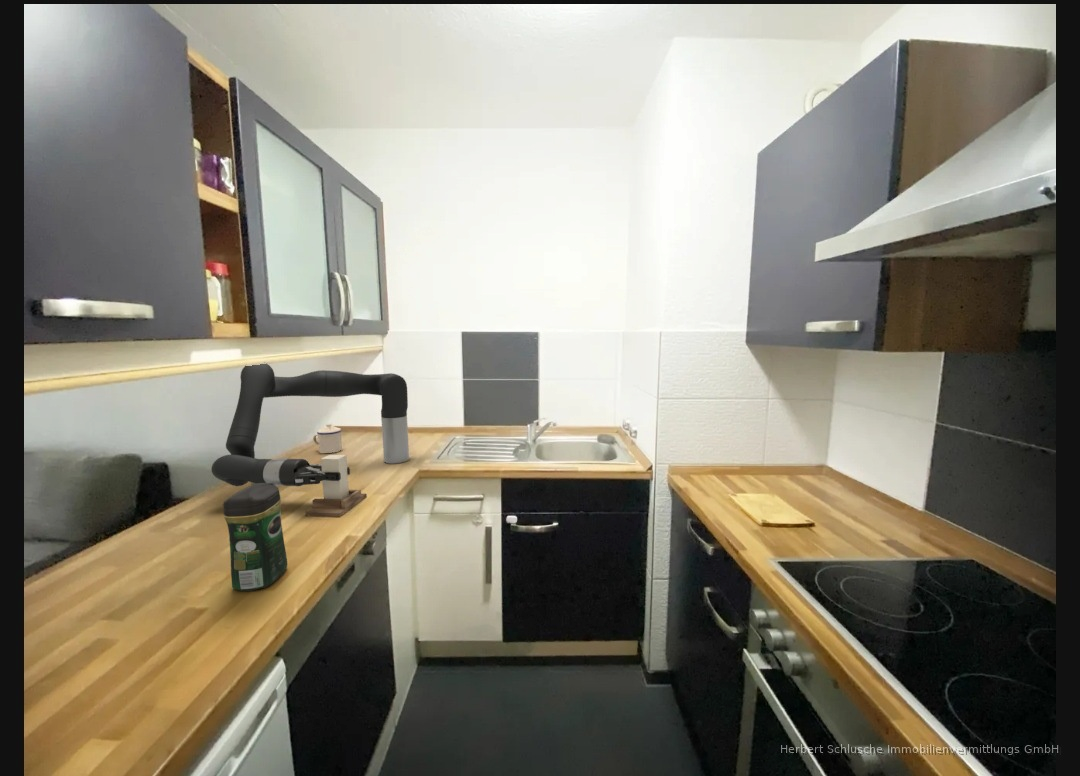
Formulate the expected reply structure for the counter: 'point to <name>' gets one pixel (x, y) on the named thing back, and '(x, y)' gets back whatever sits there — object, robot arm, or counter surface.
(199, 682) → the counter surface
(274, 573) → the coffee jar
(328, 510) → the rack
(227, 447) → the robot arm
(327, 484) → the white rectangular block
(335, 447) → the teacup with lid
